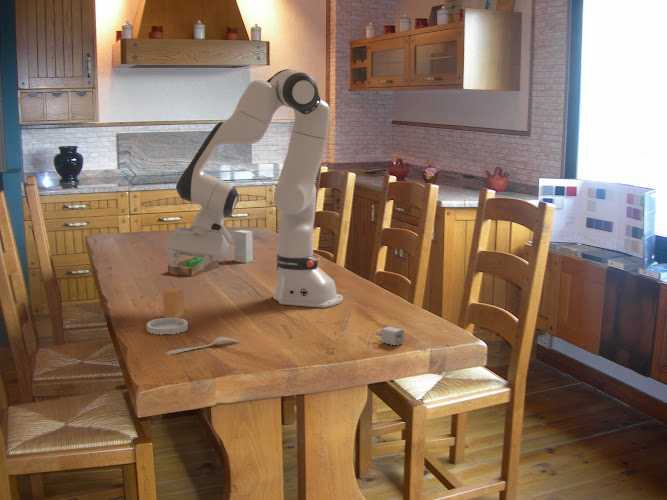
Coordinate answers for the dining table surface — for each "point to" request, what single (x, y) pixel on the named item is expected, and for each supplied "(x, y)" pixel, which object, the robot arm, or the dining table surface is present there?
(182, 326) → the ring dish
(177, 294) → the wooden toy brick
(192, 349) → the fork
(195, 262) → the pipe clamp
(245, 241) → the skincare box
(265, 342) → the dining table surface
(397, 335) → the usb wall charger
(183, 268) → the frame
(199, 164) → the robot arm
